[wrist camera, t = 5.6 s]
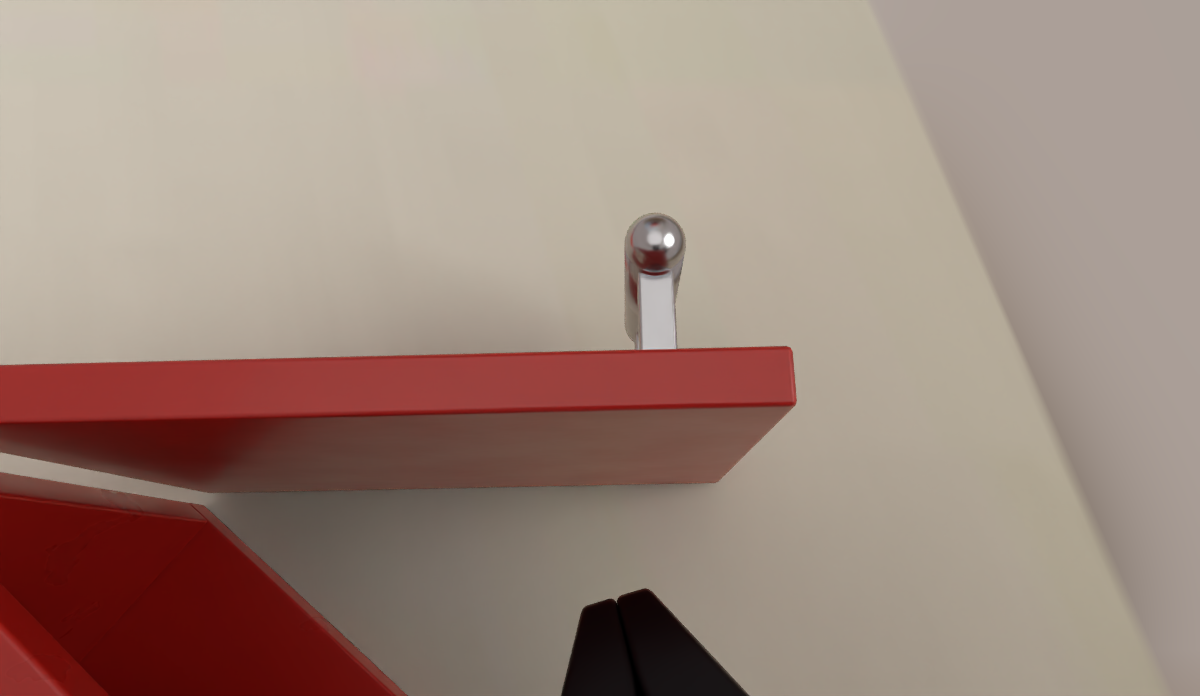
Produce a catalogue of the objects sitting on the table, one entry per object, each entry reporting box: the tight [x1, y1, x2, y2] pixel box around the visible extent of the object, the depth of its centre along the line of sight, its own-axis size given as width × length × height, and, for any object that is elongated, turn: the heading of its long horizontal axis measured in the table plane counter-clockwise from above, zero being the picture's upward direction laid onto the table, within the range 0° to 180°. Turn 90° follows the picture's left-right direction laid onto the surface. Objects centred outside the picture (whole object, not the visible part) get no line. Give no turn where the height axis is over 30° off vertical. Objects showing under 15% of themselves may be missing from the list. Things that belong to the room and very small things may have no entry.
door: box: [0, 213, 797, 493], centre depth 15 cm, size 12×4×9 cm, turn 91°
